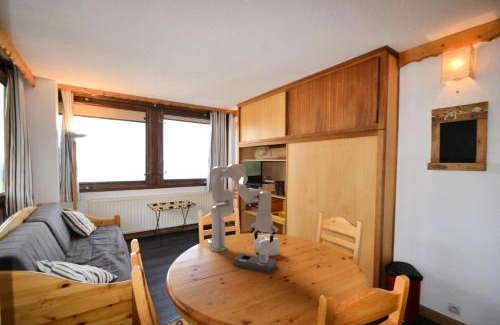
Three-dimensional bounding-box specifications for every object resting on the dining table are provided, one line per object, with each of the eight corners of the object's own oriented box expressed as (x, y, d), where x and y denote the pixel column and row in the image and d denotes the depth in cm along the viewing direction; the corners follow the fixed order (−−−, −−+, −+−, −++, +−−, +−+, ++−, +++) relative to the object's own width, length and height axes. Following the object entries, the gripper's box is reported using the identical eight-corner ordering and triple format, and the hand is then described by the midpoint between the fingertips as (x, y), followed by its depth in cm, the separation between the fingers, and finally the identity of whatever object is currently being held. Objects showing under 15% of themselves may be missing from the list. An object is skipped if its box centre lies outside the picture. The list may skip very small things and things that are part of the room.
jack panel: (233, 265, 141) (233, 258, 141) (241, 259, 150) (241, 252, 150) (270, 273, 131) (270, 266, 131) (276, 266, 140) (276, 259, 140)
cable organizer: (272, 249, 167) (272, 233, 167) (280, 255, 157) (280, 238, 157) (253, 253, 160) (253, 236, 160) (260, 258, 151) (260, 241, 151)
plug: (259, 269, 136) (259, 251, 136) (262, 265, 141) (262, 248, 141) (265, 270, 135) (265, 252, 135) (268, 267, 139) (268, 249, 139)
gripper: (248, 211, 138) (247, 239, 139) (276, 215, 131) (275, 245, 131) (253, 208, 145) (252, 235, 145) (280, 212, 138) (279, 241, 138)
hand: (263, 240), depth 138 cm, fingers open, 9 cm apart
